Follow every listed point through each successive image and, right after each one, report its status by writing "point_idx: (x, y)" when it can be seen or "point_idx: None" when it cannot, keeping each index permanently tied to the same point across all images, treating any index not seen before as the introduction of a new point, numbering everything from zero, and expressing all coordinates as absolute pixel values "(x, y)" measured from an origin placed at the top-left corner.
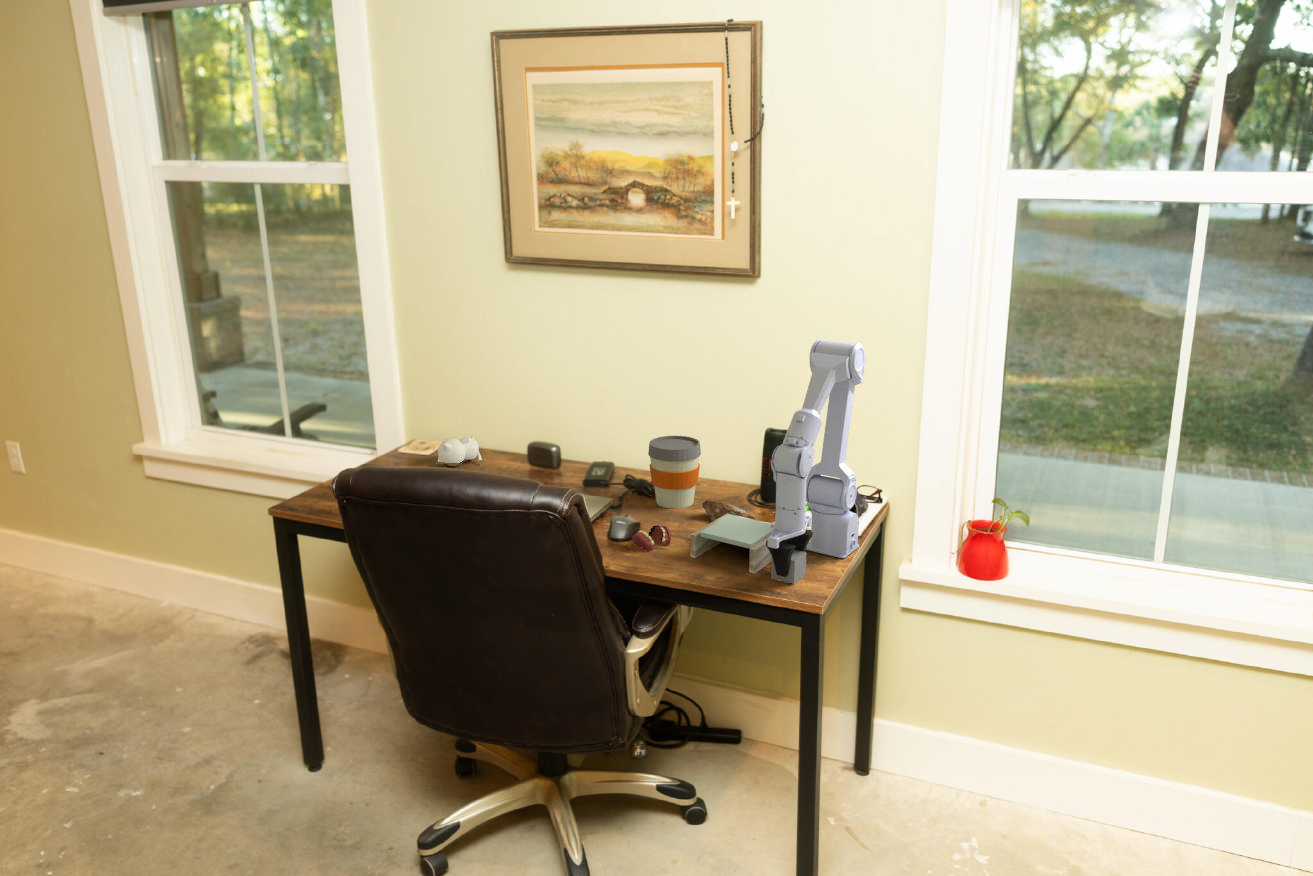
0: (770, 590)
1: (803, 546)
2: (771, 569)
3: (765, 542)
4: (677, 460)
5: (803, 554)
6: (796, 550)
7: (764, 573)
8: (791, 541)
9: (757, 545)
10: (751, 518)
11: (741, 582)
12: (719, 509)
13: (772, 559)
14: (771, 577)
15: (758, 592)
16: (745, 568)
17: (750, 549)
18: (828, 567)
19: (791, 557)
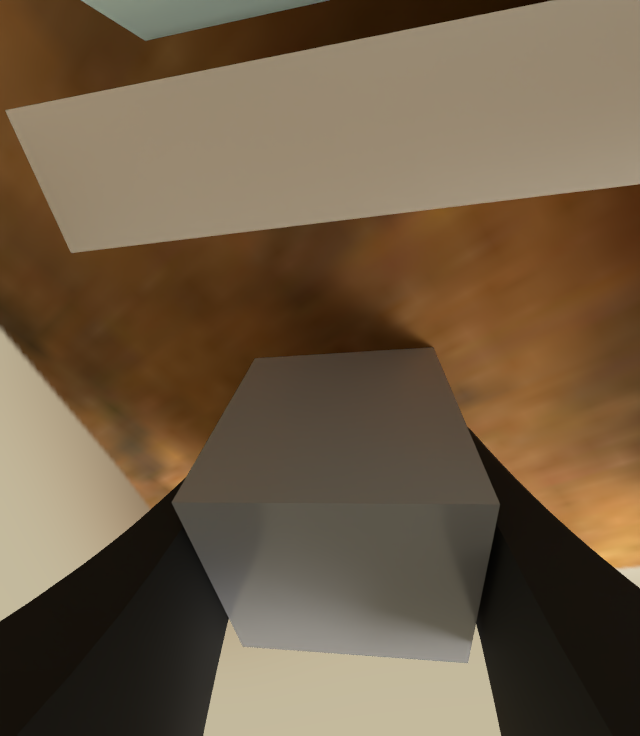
0: (136, 428)
1: (500, 715)
2: (232, 397)
3: (563, 169)
4: None
5: (407, 657)
6: (464, 613)
7: (292, 273)
8: (541, 689)
9: (283, 123)
10: None
11: (43, 231)
12: None
13: (196, 471)
14: (251, 365)
15: (64, 396)
16: (257, 40)
17: (20, 139)
18: (614, 519)
19: (278, 621)
